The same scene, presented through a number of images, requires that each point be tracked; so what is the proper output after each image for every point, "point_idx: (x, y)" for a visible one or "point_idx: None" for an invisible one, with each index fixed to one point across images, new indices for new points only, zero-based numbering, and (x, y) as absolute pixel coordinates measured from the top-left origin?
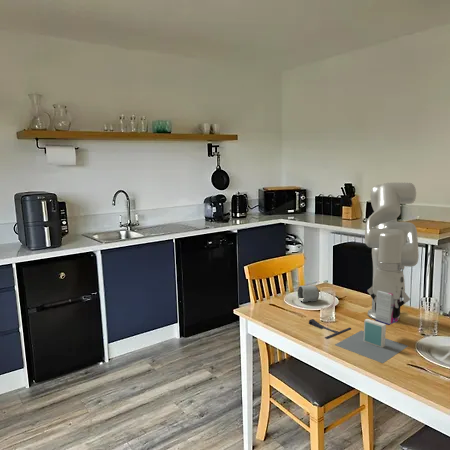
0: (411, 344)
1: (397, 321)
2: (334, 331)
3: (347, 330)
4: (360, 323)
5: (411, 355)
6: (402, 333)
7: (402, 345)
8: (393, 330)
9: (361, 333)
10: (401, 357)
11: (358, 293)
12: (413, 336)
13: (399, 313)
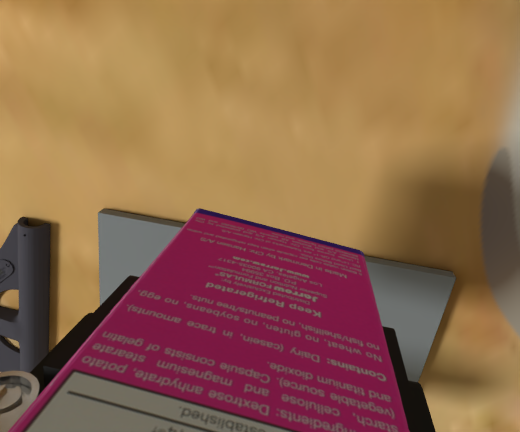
0: (466, 209)
1: (363, 258)
2: (3, 332)
3: (39, 268)
4: (10, 50)
5: (486, 362)
6: (360, 31)
7: (416, 293)
8: (275, 14)
9: (125, 260)
10: (434, 408)
11: None
12: (461, 35)
13: (419, 409)
